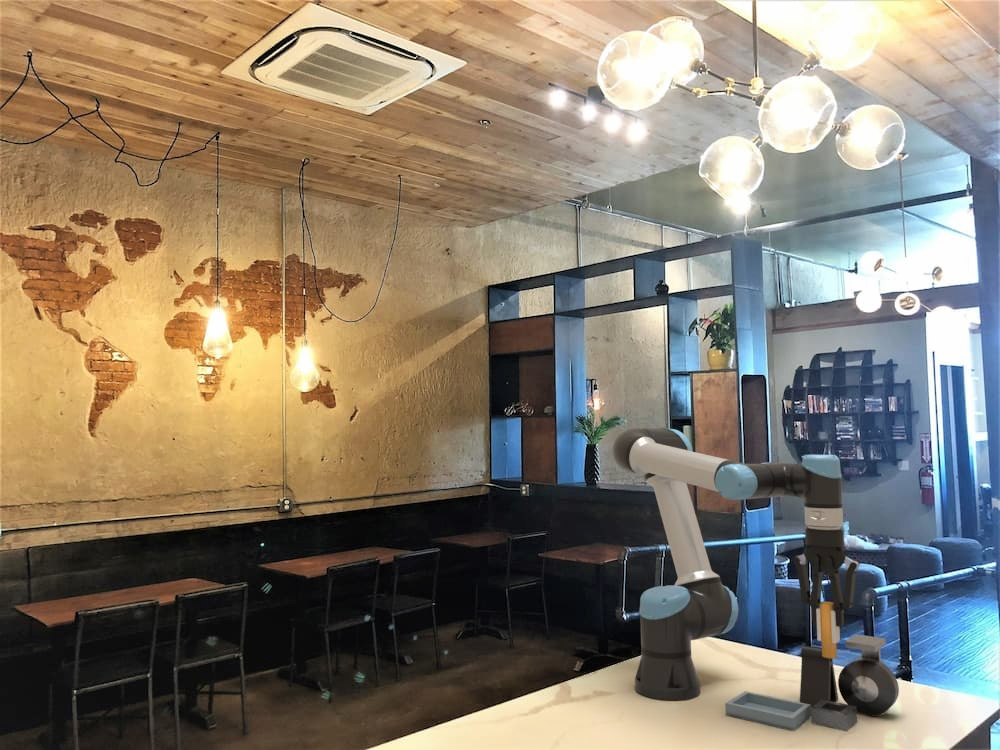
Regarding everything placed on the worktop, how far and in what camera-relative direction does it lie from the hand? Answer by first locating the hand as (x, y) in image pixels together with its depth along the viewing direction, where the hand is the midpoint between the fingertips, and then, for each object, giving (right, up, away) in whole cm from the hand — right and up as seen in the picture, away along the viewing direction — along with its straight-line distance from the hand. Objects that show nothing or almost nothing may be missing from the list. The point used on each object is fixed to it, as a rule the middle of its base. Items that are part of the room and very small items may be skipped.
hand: (828, 640), depth 159 cm
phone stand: (+2, -18, +10) cm, 21 cm away
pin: (0, -3, 0) cm, 3 cm away
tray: (-12, -17, +2) cm, 21 cm away
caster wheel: (+10, -17, +3) cm, 20 cm away
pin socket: (0, -16, -2) cm, 17 cm away
